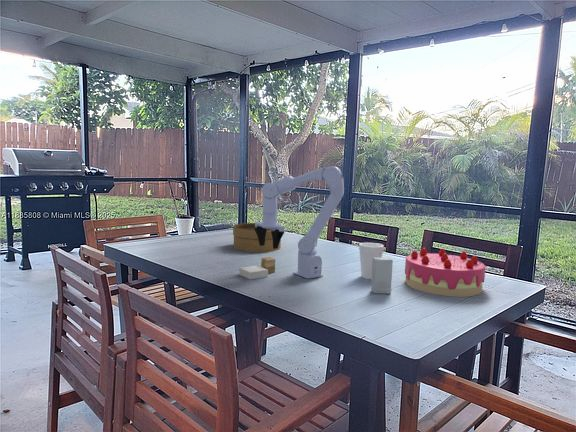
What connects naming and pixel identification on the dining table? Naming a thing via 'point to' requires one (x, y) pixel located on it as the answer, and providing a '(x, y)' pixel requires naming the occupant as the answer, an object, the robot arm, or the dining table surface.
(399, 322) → the dining table surface
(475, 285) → the cake
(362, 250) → the foam cup
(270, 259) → the oak block
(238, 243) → the steamer basket
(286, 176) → the robot arm
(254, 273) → the tile block
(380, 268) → the skincare box
